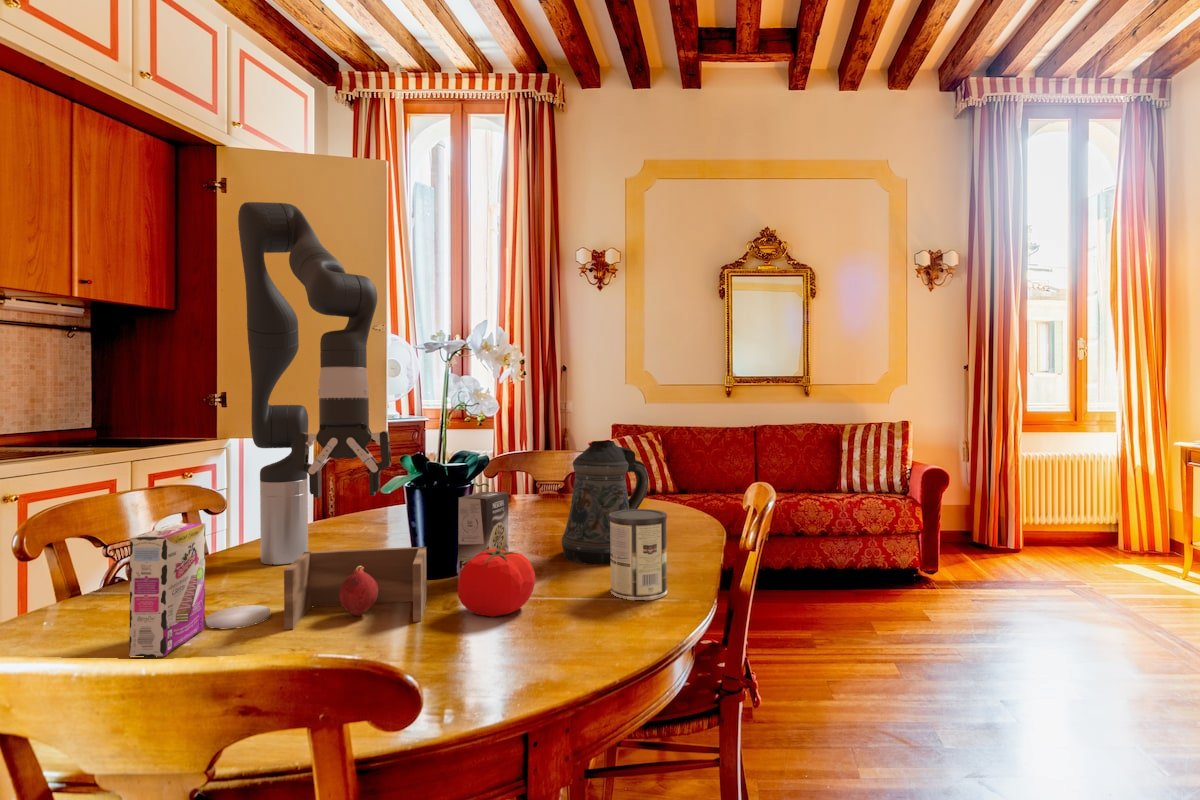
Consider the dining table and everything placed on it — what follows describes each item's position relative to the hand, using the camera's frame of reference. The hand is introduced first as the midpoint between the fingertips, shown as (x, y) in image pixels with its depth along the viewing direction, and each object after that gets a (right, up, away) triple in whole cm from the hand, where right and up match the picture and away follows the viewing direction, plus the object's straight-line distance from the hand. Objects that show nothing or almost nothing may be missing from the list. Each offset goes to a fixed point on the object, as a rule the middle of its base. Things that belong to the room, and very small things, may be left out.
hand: (345, 496), depth 109 cm
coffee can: (+48, -19, +11) cm, 53 cm away
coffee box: (+19, -19, +21) cm, 34 cm away
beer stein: (+42, -19, +40) cm, 61 cm away
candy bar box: (-20, -20, -12) cm, 31 cm away
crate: (+2, -19, 0) cm, 19 cm away
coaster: (-16, -19, -2) cm, 25 cm away
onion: (+3, -19, -1) cm, 19 cm away
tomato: (+25, -19, +1) cm, 31 cm away
